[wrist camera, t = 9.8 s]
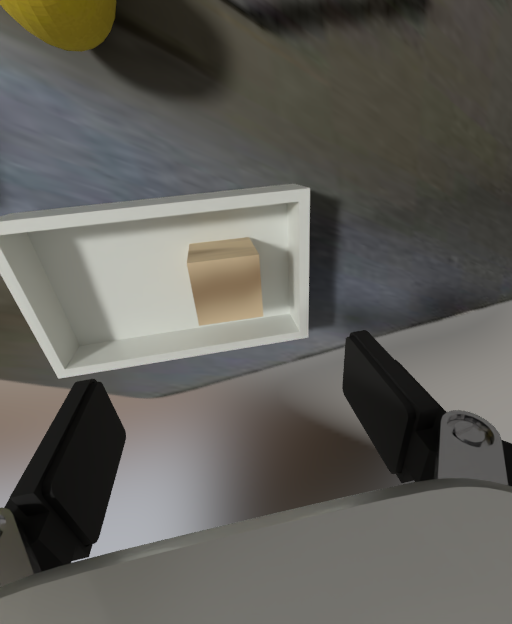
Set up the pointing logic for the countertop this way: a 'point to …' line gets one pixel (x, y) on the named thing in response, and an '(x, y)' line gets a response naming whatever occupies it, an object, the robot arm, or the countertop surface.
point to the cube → (225, 280)
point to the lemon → (65, 21)
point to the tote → (152, 275)
